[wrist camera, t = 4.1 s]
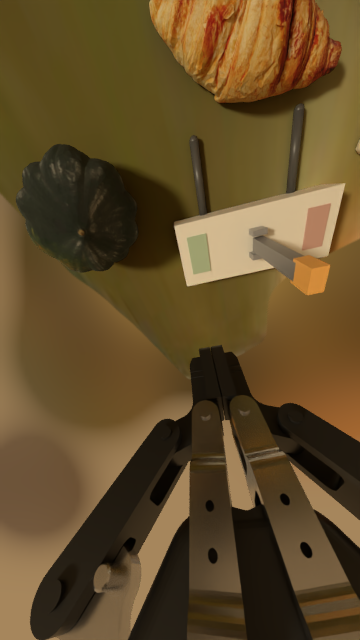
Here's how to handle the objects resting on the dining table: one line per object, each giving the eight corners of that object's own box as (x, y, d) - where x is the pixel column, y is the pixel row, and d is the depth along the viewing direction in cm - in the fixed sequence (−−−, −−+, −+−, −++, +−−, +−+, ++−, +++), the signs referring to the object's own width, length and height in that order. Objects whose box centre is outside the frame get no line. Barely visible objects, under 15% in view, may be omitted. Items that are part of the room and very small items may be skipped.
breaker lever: (252, 235, 28) (311, 268, 16) (263, 233, 28) (330, 264, 16) (252, 253, 29) (306, 295, 17) (262, 250, 29) (323, 292, 17)
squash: (-12, 199, 25) (9, 280, 20) (41, 84, 20) (87, 155, 15) (86, 244, 37) (114, 302, 32) (133, 181, 32) (175, 238, 27)
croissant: (153, 77, 25) (144, 97, 21) (153, -108, 16) (138, -130, 12) (299, 110, 27) (315, 133, 23) (372, -41, 18) (415, -43, 14)
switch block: (158, 146, 26) (153, 134, 21) (337, 93, 24) (389, 62, 18) (185, 276, 37) (187, 291, 32) (309, 248, 35) (336, 259, 29)
